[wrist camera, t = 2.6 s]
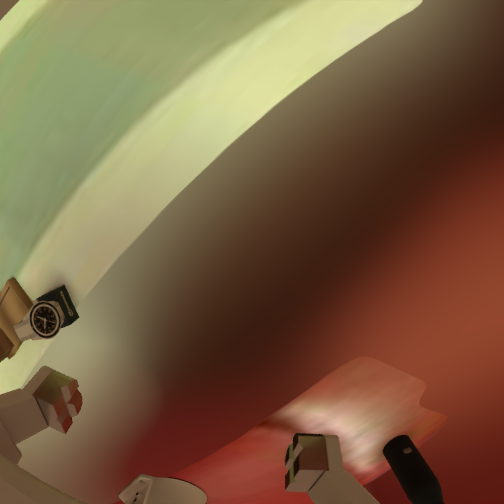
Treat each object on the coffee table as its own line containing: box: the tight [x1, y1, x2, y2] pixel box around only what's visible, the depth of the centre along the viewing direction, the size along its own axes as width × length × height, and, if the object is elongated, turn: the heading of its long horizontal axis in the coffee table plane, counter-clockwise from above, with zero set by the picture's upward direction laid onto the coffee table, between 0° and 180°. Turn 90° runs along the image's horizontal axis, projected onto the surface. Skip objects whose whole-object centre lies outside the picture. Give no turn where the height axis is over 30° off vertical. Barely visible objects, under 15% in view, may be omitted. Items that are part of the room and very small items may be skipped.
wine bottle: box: [383, 435, 445, 504], centre depth 33 cm, size 6×6×30 cm
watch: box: [13, 285, 79, 341], centre depth 34 cm, size 6×8×11 cm
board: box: [0, 278, 34, 359], centre depth 38 cm, size 14×8×2 cm, turn 132°
